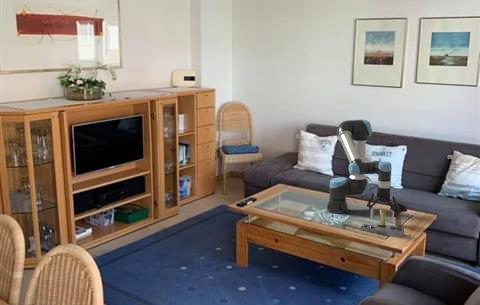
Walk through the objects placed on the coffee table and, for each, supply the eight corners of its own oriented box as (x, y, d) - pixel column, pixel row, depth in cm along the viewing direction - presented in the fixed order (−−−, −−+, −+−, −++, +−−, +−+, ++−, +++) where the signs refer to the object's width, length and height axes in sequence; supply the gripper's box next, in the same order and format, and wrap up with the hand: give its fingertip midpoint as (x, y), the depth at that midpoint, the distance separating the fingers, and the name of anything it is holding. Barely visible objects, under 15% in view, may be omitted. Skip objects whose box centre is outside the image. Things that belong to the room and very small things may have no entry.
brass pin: (377, 232, 309) (378, 209, 306) (379, 230, 312) (380, 208, 309) (384, 233, 307) (385, 210, 304) (386, 231, 310) (387, 209, 307)
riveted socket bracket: (360, 230, 313) (360, 223, 312) (364, 226, 319) (364, 220, 318) (400, 237, 300) (401, 230, 299) (404, 234, 306) (404, 227, 305)
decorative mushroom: (386, 222, 326) (387, 201, 323) (402, 222, 327) (403, 200, 324) (392, 228, 315) (393, 206, 312) (409, 228, 316) (410, 205, 313)
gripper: (362, 185, 307) (360, 218, 312) (403, 191, 294) (401, 225, 298) (366, 182, 313) (364, 214, 318) (406, 188, 300) (404, 221, 305)
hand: (382, 219), depth 308 cm, fingers open, 13 cm apart
